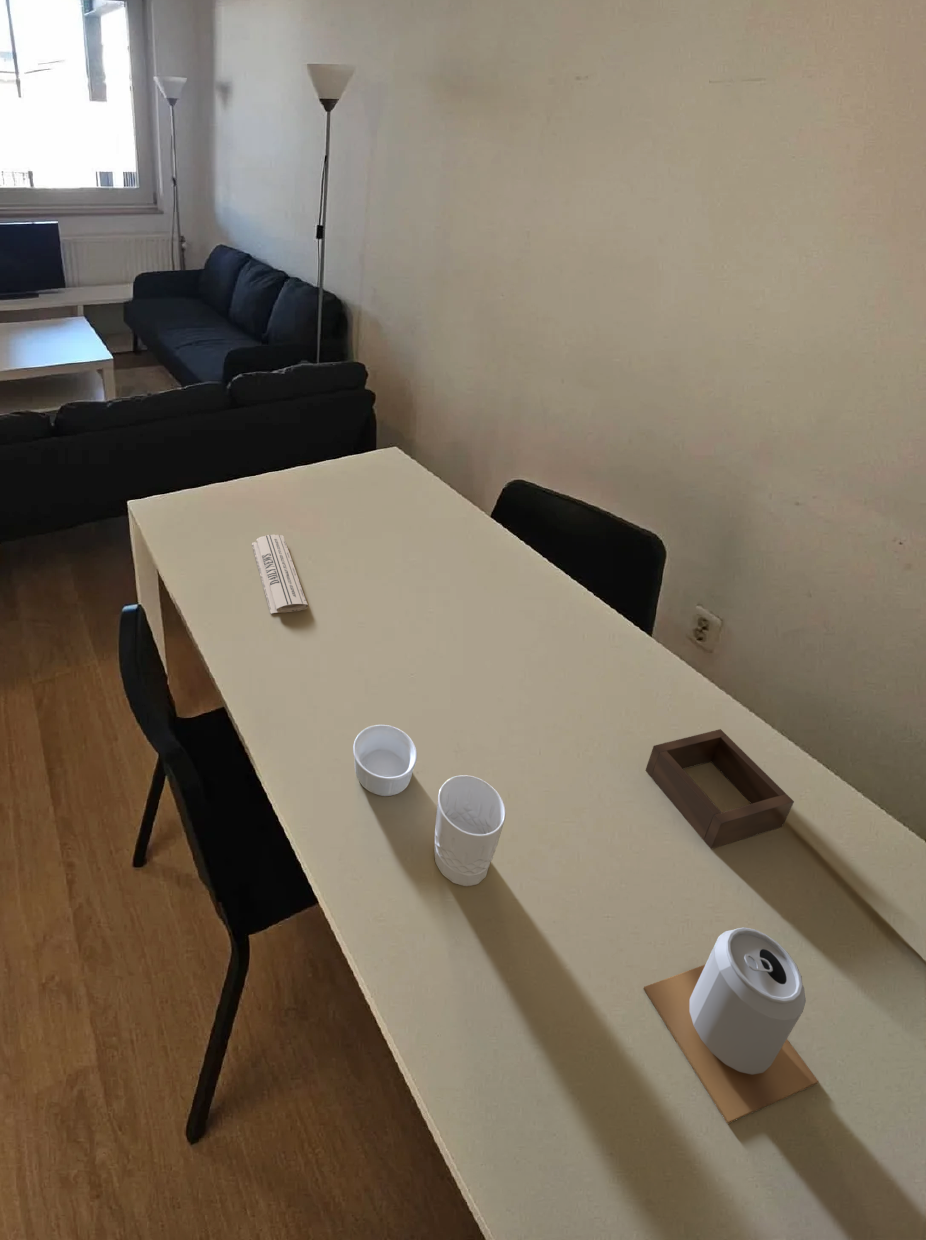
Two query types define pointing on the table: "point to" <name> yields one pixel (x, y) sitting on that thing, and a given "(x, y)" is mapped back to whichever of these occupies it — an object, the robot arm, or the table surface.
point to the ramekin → (384, 759)
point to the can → (747, 1000)
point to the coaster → (721, 1081)
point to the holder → (738, 769)
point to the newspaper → (278, 575)
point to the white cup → (467, 828)
